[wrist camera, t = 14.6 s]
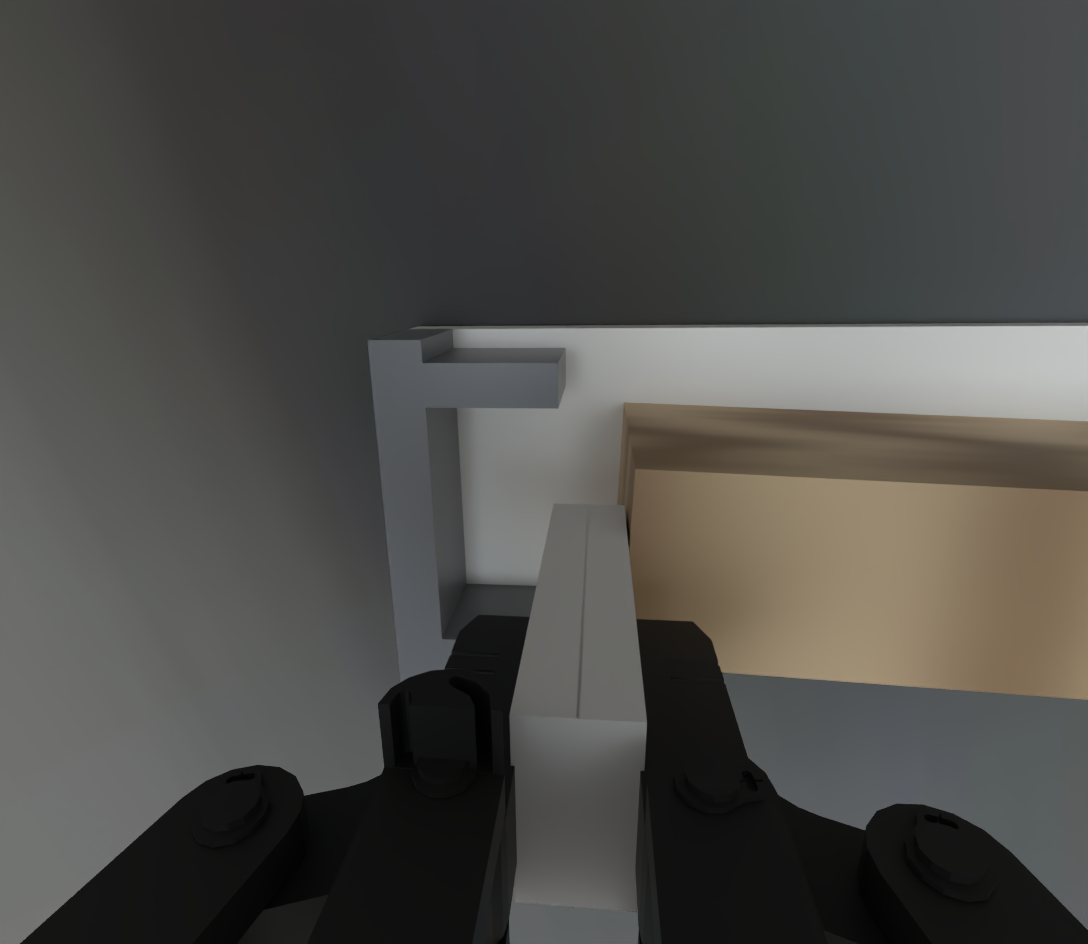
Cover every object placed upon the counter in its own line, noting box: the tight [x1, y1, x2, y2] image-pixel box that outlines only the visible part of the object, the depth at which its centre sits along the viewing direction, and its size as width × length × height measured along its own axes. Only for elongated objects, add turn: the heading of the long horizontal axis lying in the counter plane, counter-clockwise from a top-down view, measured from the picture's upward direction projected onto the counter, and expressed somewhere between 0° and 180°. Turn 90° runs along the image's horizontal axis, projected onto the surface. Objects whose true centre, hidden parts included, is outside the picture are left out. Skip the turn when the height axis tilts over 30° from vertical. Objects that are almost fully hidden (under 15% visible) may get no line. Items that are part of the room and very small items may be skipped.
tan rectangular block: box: [617, 402, 1088, 700], centre depth 14 cm, size 14×4×6 cm, turn 89°
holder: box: [367, 323, 1088, 682], centre depth 16 cm, size 9×24×4 cm, turn 91°
